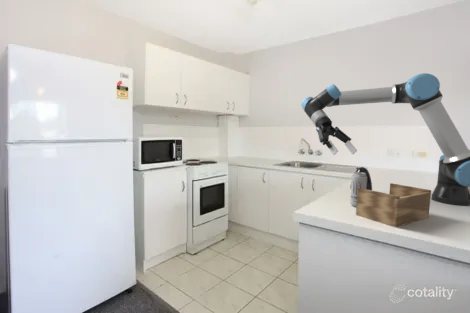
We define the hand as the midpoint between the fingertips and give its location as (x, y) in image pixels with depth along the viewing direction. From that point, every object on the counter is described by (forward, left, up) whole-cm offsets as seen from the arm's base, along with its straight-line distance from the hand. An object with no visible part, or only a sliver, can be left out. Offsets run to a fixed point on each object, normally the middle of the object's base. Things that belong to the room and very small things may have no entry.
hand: (345, 152), depth 118 cm
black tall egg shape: (-13, -16, -24) cm, 31 cm away
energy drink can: (-5, +6, -24) cm, 25 cm away
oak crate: (-15, +17, -23) cm, 33 cm away
